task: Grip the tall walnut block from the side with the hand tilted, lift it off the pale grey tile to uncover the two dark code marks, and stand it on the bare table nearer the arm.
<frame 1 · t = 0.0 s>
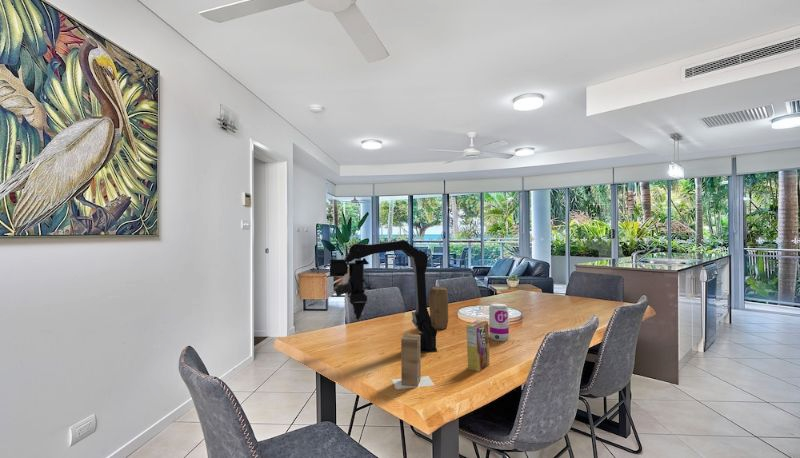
hand: (356, 316, 134), 15 cm above the table, tool pointing down, fingers open, 9 cm apart
candy box: (478, 367, 120), on the table
walnut block: (411, 382, 107), resting on code tile
supplement can: (499, 339, 153), on the table
code tile: (412, 383, 107), on the table
block: (438, 327, 174), on the table
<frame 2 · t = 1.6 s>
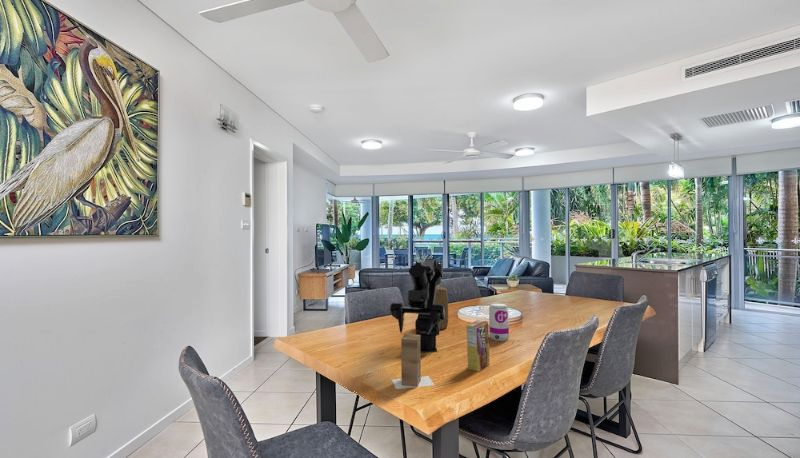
hand: (414, 333, 115), 13 cm above the table, tool tilted 45°, fingers open, 9 cm apart
nothing on the table moved.
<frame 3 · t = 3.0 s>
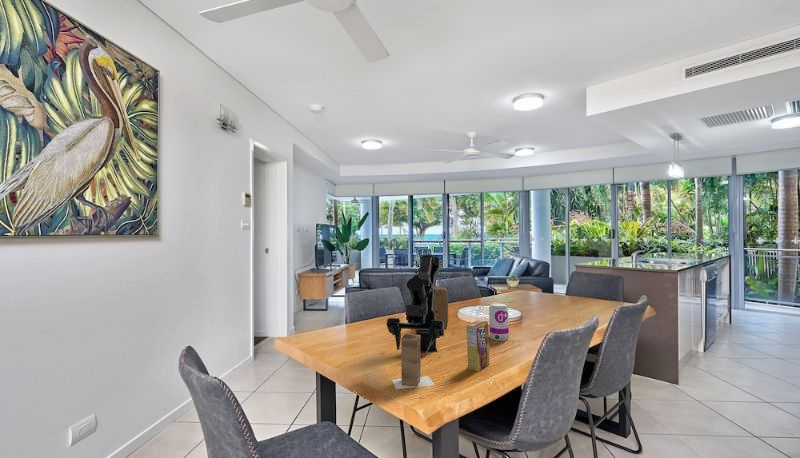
hand: (412, 350, 109), 10 cm above the table, tool tilted 45°, fingers open, 9 cm apart
nothing on the table moved.
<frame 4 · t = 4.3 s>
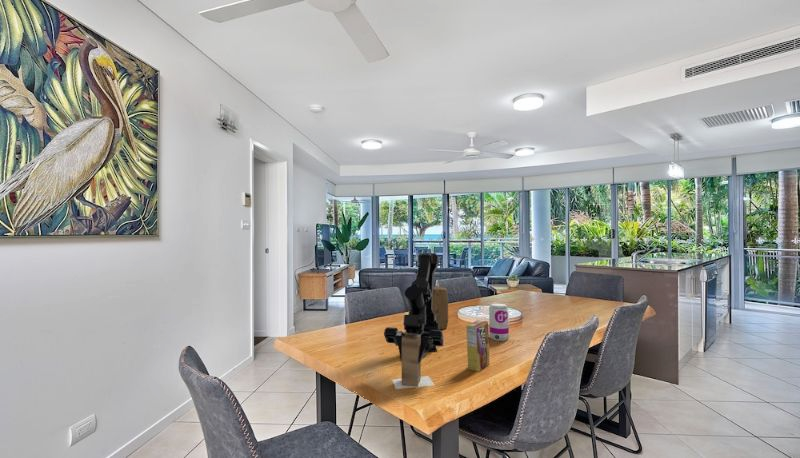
hand: (410, 361, 106), 7 cm above the table, tool tilted 45°, fingers closed on walnut block, 5 cm apart
walnut block: (411, 382, 107), resting on code tile, touching gripper
everything else where it was.
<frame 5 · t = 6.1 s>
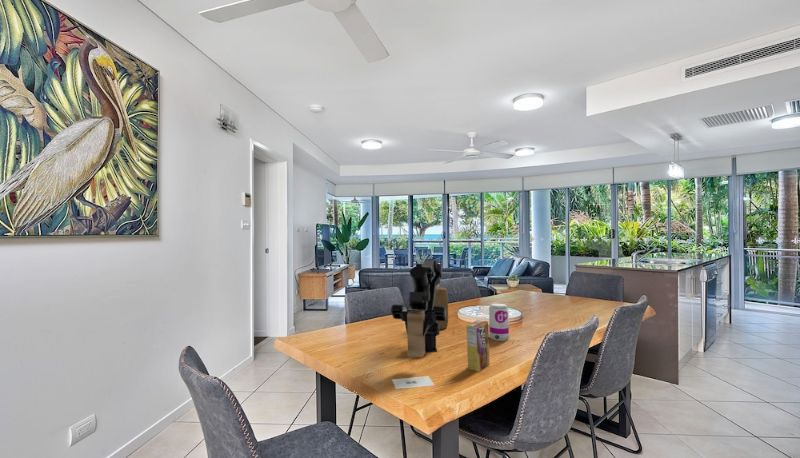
hand: (415, 334, 115), 13 cm above the table, tool tilted 45°, fingers closed on walnut block, 5 cm apart
walnut block: (416, 354, 116), point 6 cm above the table, touching gripper
everything else where it was.
when the fingers open (8 cm above the table, at t = 7.8 s): walnut block drops 1 cm, on the table.
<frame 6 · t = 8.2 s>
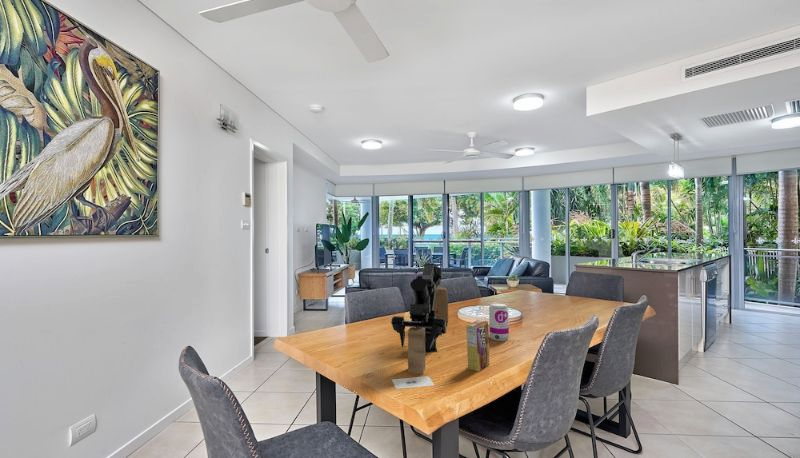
hand: (415, 347, 115), 9 cm above the table, tool tilted 45°, fingers open, 9 cm apart
walnut block: (416, 371, 117), on the table
everything else where it was.
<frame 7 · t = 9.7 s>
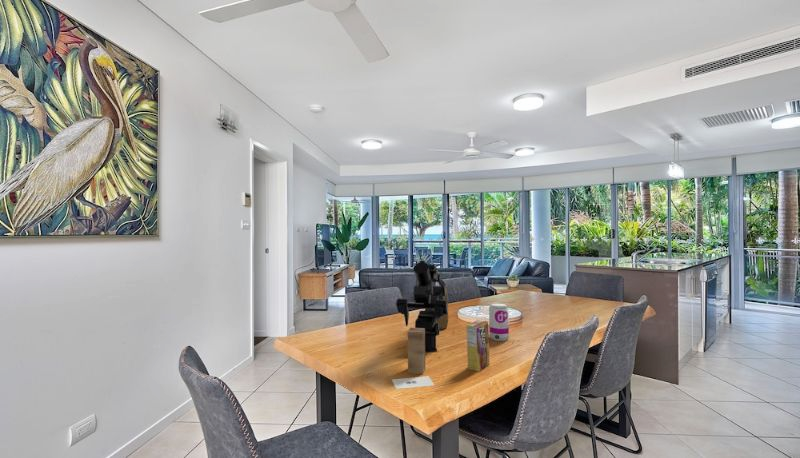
hand: (419, 326, 123), 14 cm above the table, tool tilted 45°, fingers open, 9 cm apart
nothing on the table moved.
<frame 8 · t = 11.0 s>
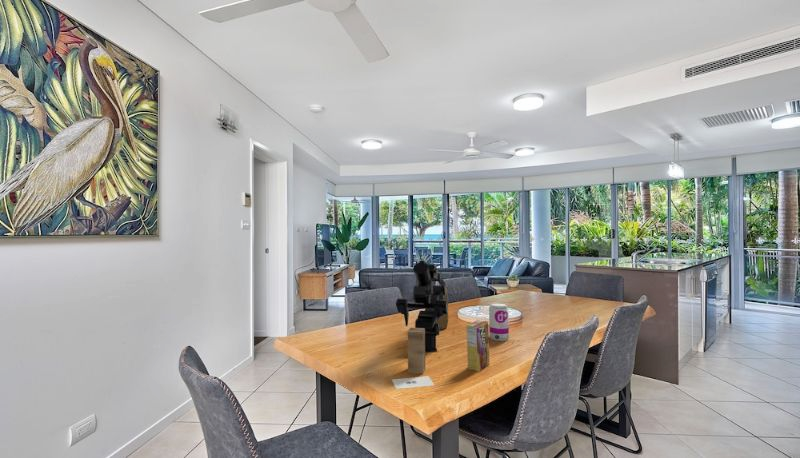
hand: (419, 326, 123), 14 cm above the table, tool tilted 45°, fingers open, 9 cm apart
nothing on the table moved.
at the end: walnut block inside the target area (0.4 cm from its centre), on the table; walnut block tilted 0°; walnut block touching table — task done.
